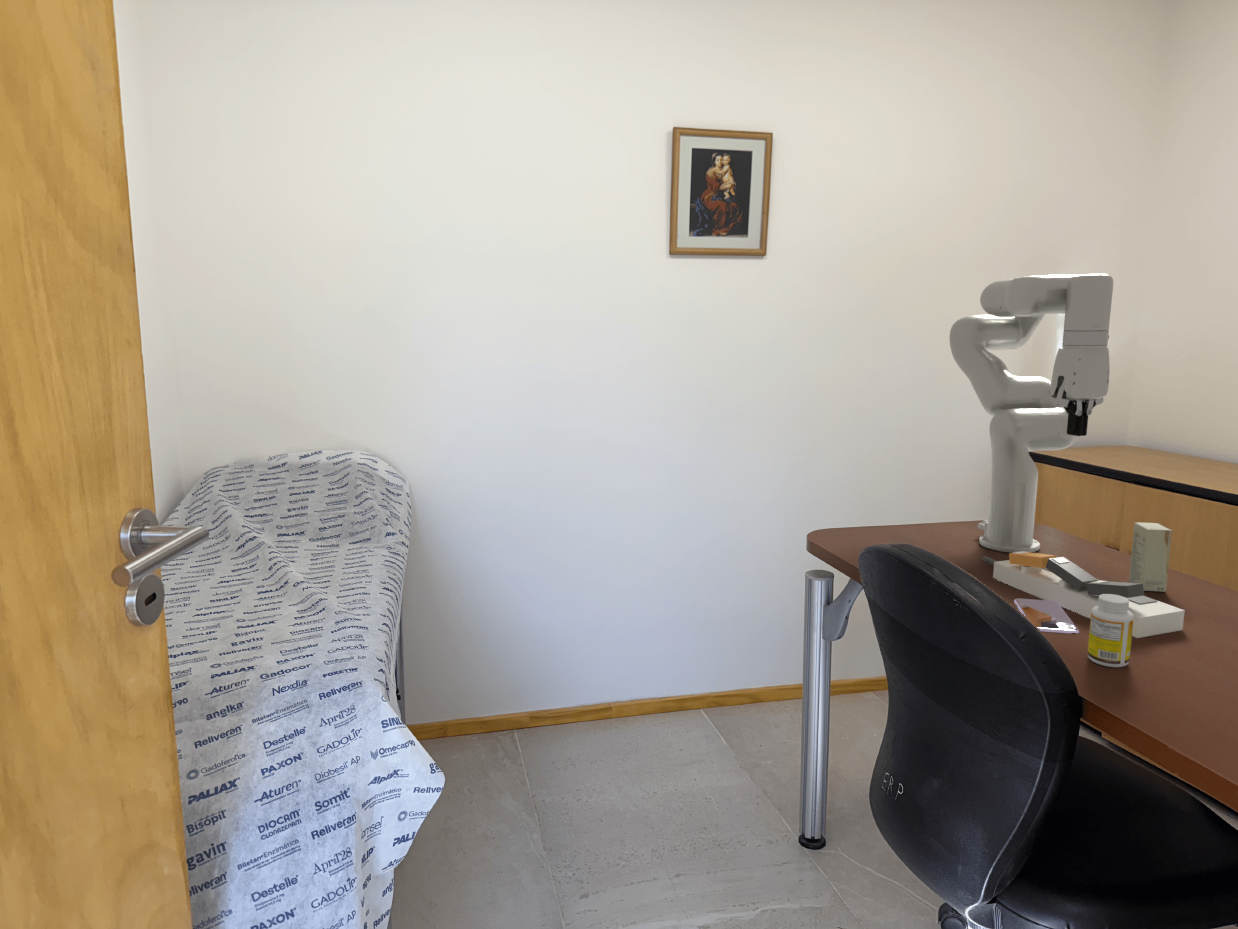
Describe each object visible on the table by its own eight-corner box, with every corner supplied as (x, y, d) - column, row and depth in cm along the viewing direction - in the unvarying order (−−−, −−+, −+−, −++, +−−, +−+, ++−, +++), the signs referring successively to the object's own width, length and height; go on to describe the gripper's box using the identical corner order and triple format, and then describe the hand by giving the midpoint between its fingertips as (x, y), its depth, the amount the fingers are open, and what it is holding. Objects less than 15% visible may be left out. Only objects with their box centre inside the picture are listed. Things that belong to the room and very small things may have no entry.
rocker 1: (1009, 563, 158) (1008, 552, 158) (1023, 561, 159) (1023, 550, 159) (1042, 568, 150) (1041, 556, 150) (1056, 566, 151) (1056, 554, 151)
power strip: (964, 567, 169) (966, 546, 168) (1003, 561, 172) (1004, 541, 171) (1137, 638, 131) (1140, 611, 130) (1182, 630, 134) (1185, 604, 133)
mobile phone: (1057, 599, 147) (1081, 630, 133) (1057, 604, 147) (1080, 636, 133) (1012, 596, 149) (1031, 626, 135) (1012, 601, 149) (1030, 632, 135)
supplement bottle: (1111, 652, 126) (1118, 591, 124) (1137, 667, 120) (1144, 603, 119) (1078, 654, 125) (1084, 592, 124) (1102, 670, 120) (1109, 605, 118)
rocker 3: (1087, 594, 141) (1086, 582, 141) (1103, 592, 142) (1101, 580, 142) (1128, 597, 133) (1126, 585, 133) (1144, 595, 134) (1142, 582, 134)
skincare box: (1166, 593, 152) (1174, 530, 149) (1141, 591, 152) (1148, 529, 150) (1151, 581, 158) (1158, 522, 155) (1127, 580, 159) (1133, 521, 156)
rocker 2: (1045, 567, 149) (1048, 557, 148) (1060, 565, 150) (1063, 555, 149) (1079, 591, 142) (1082, 581, 141) (1094, 589, 143) (1098, 579, 142)
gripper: (1098, 338, 158) (1089, 430, 162) (1038, 340, 154) (1030, 434, 157) (1132, 339, 151) (1122, 435, 155) (1070, 341, 147) (1061, 440, 150)
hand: (1076, 434), depth 156 cm, fingers closed
